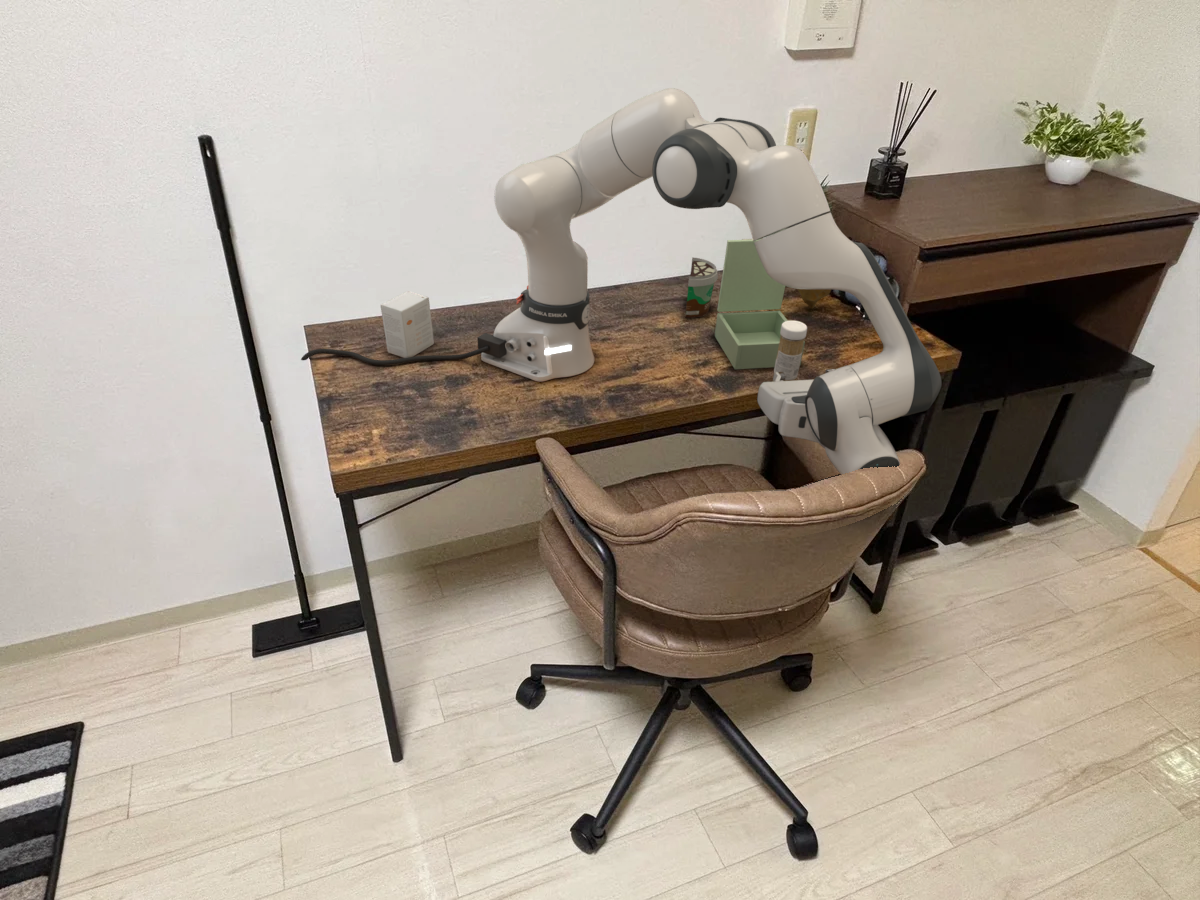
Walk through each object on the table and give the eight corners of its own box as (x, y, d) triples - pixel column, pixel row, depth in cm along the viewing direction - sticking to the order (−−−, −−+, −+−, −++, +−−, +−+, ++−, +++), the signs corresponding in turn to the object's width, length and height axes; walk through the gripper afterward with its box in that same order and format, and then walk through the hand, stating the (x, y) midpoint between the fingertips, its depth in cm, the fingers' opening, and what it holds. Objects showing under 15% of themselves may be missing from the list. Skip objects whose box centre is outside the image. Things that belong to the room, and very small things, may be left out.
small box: (414, 337, 159) (408, 289, 153) (435, 344, 157) (429, 296, 151) (386, 352, 154) (379, 303, 148) (407, 360, 151) (401, 310, 145)
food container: (712, 323, 169) (718, 279, 163) (684, 320, 169) (688, 277, 164) (714, 300, 179) (719, 258, 173) (688, 297, 179) (692, 256, 174)
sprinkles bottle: (781, 381, 148) (792, 317, 140) (799, 391, 145) (813, 326, 138) (765, 388, 146) (776, 323, 138) (784, 398, 143) (796, 332, 135)
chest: (800, 365, 153) (805, 341, 150) (734, 369, 152) (738, 345, 149) (775, 333, 165) (779, 310, 162) (714, 336, 163) (717, 313, 160)
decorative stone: (798, 315, 173) (810, 250, 164) (786, 304, 178) (797, 241, 169) (837, 312, 175) (851, 248, 166) (824, 301, 180) (837, 238, 171)
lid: (795, 239, 152) (786, 229, 156) (728, 241, 150) (721, 231, 154) (780, 309, 162) (773, 298, 165) (718, 312, 160) (712, 300, 163)
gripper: (899, 396, 124) (863, 355, 135) (777, 403, 121) (750, 360, 132) (890, 428, 127) (855, 386, 138) (771, 436, 124) (745, 392, 135)
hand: (803, 373), depth 135 cm, fingers open, 8 cm apart
